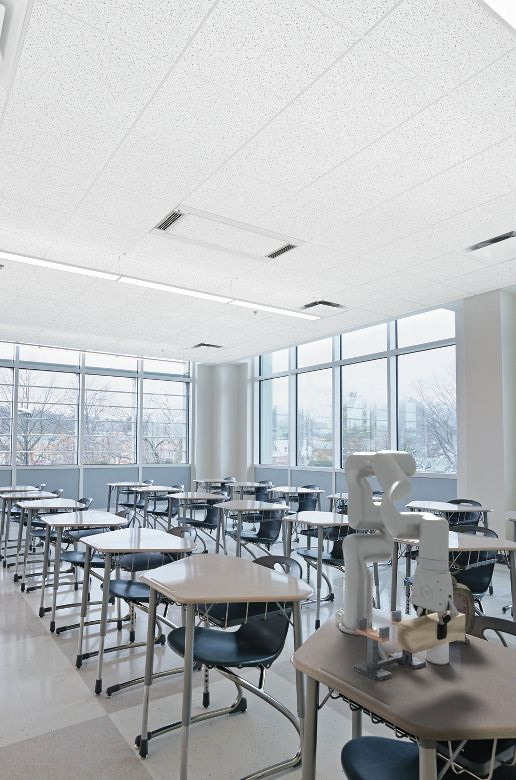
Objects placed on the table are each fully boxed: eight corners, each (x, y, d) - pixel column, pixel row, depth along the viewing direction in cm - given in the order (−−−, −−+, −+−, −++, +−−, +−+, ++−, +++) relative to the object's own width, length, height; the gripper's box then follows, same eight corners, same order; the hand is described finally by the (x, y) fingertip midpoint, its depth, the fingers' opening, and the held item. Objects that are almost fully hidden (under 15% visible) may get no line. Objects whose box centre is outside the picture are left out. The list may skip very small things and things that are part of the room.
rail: (397, 646, 136) (397, 622, 136) (448, 631, 149) (449, 609, 149) (413, 653, 132) (414, 628, 132) (465, 637, 145) (465, 614, 145)
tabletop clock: (427, 642, 171) (428, 562, 174) (423, 633, 180) (423, 556, 183) (475, 646, 169) (474, 565, 172) (468, 637, 178) (468, 559, 181)
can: (450, 666, 152) (450, 622, 153) (426, 663, 153) (426, 620, 155) (447, 658, 158) (447, 615, 160) (424, 655, 160) (424, 613, 161)
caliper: (366, 640, 171) (366, 620, 172) (370, 640, 171) (370, 620, 172) (385, 666, 151) (385, 643, 152) (389, 666, 151) (389, 643, 152)
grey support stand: (353, 669, 147) (354, 619, 149) (400, 655, 159) (400, 609, 161) (378, 681, 140) (379, 629, 142) (425, 665, 152) (426, 617, 153)
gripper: (398, 559, 147) (396, 627, 145) (453, 573, 133) (452, 649, 131) (415, 556, 151) (414, 623, 149) (470, 570, 137) (470, 643, 136)
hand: (432, 634), depth 140 cm, fingers closed on rail, 5 cm apart
